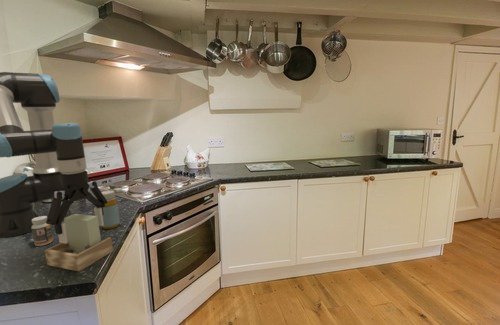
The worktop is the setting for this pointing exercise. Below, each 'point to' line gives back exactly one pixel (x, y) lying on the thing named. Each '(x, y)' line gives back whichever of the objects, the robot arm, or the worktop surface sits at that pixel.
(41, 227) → the pill bottle
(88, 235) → the door
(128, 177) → the worktop surface
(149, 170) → the worktop surface
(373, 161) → the worktop surface
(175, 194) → the worktop surface
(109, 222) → the bottle
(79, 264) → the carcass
